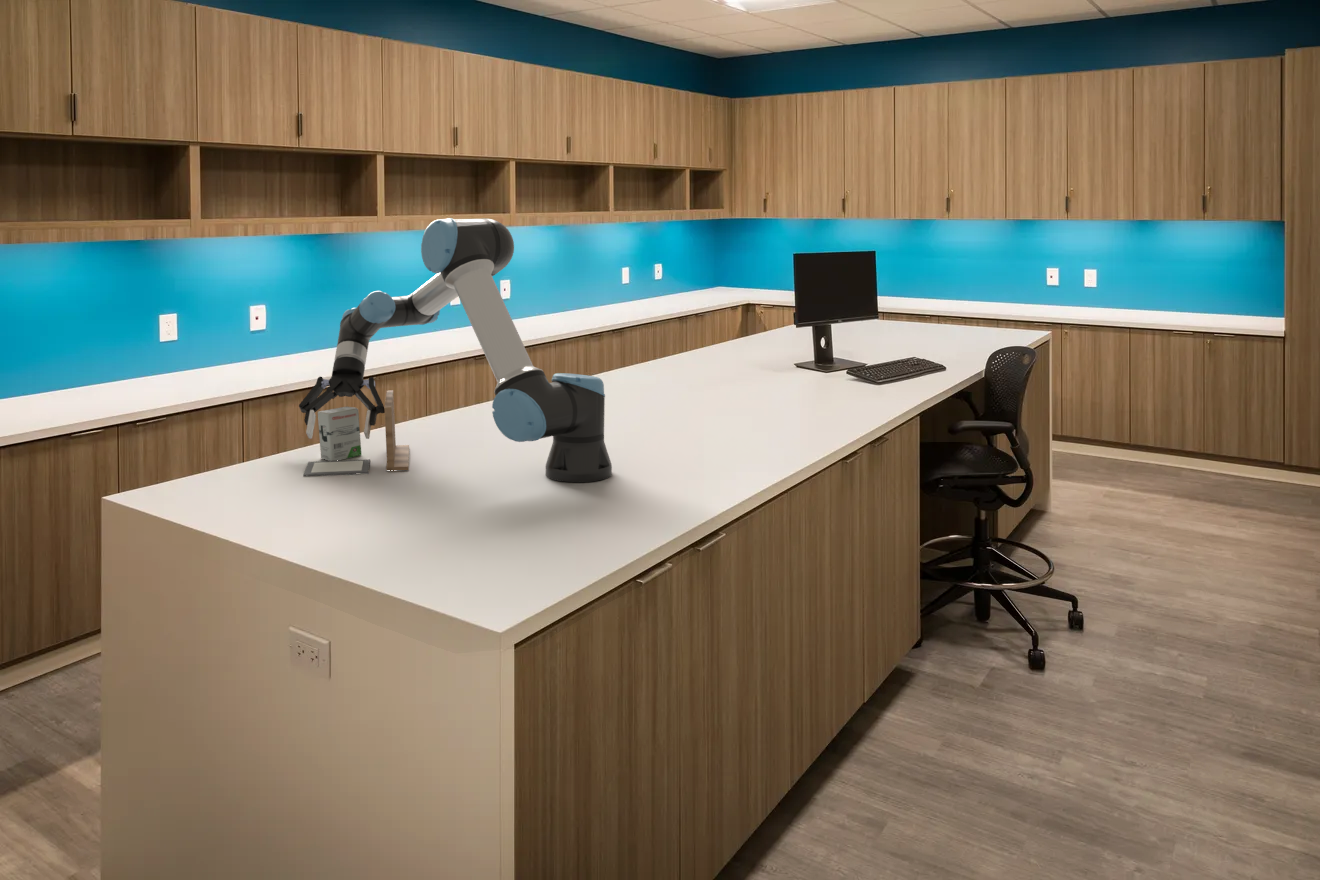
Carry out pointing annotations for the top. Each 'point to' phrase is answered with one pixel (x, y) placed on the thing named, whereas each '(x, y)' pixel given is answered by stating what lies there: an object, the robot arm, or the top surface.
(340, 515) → the top surface
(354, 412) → the ink box
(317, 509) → the top surface
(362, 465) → the mat
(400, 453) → the light wood l-shaped piece
